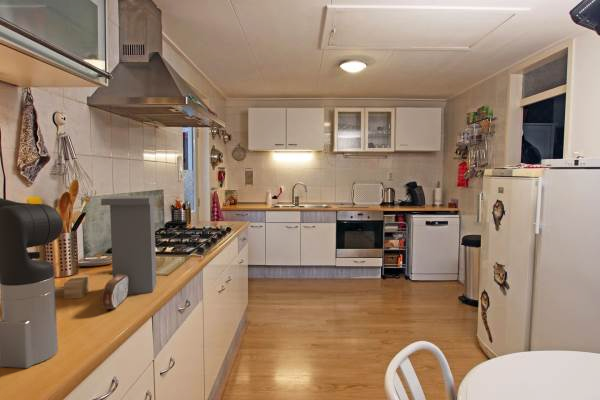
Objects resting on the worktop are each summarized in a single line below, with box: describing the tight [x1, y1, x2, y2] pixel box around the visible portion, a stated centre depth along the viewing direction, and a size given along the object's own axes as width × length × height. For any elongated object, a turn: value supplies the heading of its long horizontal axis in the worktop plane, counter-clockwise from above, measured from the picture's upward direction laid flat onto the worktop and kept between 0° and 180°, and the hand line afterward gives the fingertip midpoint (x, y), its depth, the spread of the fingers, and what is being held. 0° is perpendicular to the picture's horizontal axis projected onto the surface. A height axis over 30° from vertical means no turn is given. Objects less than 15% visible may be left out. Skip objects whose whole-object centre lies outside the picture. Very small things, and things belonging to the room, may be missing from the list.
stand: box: [100, 195, 157, 295], centre depth 120 cm, size 14×14×32 cm
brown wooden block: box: [55, 275, 91, 300], centre depth 115 cm, size 8×17×5 cm, turn 106°
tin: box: [101, 274, 129, 310], centre depth 107 cm, size 15×3×8 cm, turn 8°
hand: (33, 258), depth 113 cm, fingers open, 8 cm apart
